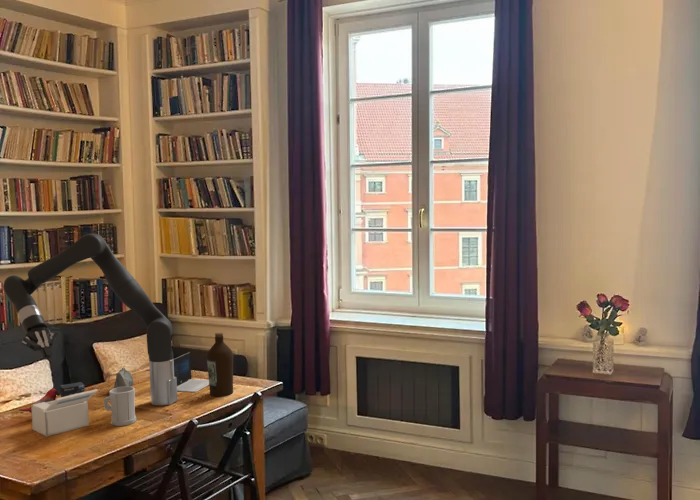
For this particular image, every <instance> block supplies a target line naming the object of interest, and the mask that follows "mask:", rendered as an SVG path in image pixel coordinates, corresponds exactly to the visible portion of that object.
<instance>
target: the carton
mask: <svg viewBox="0 0 700 500" xmlns="http://www.w3.org/2000/svg"><path fill="white" fill-rule="evenodd" d="M55 400H56V399H55ZM55 400H54V401H55ZM54 401H50V402H46V403H45V402H42V403H37V404H34V403H33V404H32V405H33V406H32V405H31V406H30V407H31V412H30V413H31V425H32V426H31V428H32V430H33V431H34V432H37V433H39V434H41V435H42V436H44V437H46V438H47V437H52V436H55V435H58V434H63V433H66V432H69V431H73V430H76V429H77V430H78V429H81V428H84V427H89V426H90V415H89V402H88V400H87V401H84V402H80V403H76V404H71V405H67V406H63V407H59V408H55V409H51V410H47V408H48V407H49V406H50V405H51V404H52V403H53V402H54Z"/></svg>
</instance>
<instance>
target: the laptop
mask: <svg viewBox="0 0 700 500" xmlns="http://www.w3.org/2000/svg"><path fill="white" fill-rule="evenodd" d="M191 358H192V357H191V352H190V351H189V352H187V353H184V354H182V355H180V356H178V357H176V358H173V361H174V377H176V378H177V393H178V392H180V393H197V392H198V391H201V390H202V389H204V388H206V387H208V386H209V379H198V378H197V379H196V378H195V379H194V378H192V361H191Z"/></svg>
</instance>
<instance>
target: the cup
mask: <svg viewBox="0 0 700 500" xmlns="http://www.w3.org/2000/svg"><path fill="white" fill-rule="evenodd" d="M108 393H109V395H108V396H106V397H104V398H103V404H104V405H103V407H104V409H105V410H106V411H109V412H111V419H110V425H113V426H117V427H124V426H129V425H133V424H135V422H136V421H137V415H136V409H135V405H136V404H135V401H136V398H135V397H136V388H135V387H134V386H131V387H128V386H127V387H118V388H114V387H113V388H112V389H110V390H109V392H108ZM109 401H110V404H109Z"/></svg>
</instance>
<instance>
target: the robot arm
mask: <svg viewBox="0 0 700 500" xmlns="http://www.w3.org/2000/svg"><path fill="white" fill-rule="evenodd" d="M87 259H91V260H92V261H93V262H94V263H95V264H96V265H97V267H98V268H100V270H101V271H102V274H103V275H104V278H105V280H106V281H107V284H108V286H109V287H110V289H111V290H112V292H113V293H114V294H115V295H116V297H117V298H118V299H119V300H120V301H121V302H122V303H123V305H125V306H126V307H127V308H128V309H129V310H130V311H132V312H133V313H135V314H136V315H137V316H138V317H139V318H140V319H141V321H142V322H143V324H145V326H146V328H147V329H146V347H147V355H148V364H149V366H148V367H149V381H150V383H149V385H150V386H149V387H150V400H151V401H150V402H151V405H153V406H167V405H172V404H174V403H176V402H177V401H178V392H177V378H176V377H174V361H173V359H174V352H173V351H174V350H173V346H172V334H173V331H174V327H173V324H172V322H171V321H170V320H169V319H168V318H167V316H165V315H164V314H163V313H162V311H160V309H158V308H157V307H156V305H155V304H154V303H153V302H152V300H151V299H150V297H149V296H148V295H147V292H146V291H145V290H144V289H143V288H142V287H141V284H139V282H138V281H137V280H136V278H134V276H133V275H132V274H131V273H130V272H129V271H128V270H127V268H126V267H125V266H124V265H123V264H122V263H121V262H120V260H119V259H118V258H117V257H116V255H115V254H114V253H113V251H112V250H111V248H110V246H109V245H108V243H107V242H106V240H105V238H104V237H103V236H101V235H100V234H98V233H86V234H84V235H82V236H81V237H80V238H78V240H76V241H75V242H74V243H73V244H72V245H70V246H69V247H68V248H66V249H65V250H63V251H61V252H60V253H58V254H56V255H54V256H52V257H51V258H48V259H47V260H45V261H42V262H41V263H39V264H37V265H35V266H34V267H32V268H30V269H29V270H28V271H27V276H28V278H26V279H23V278H22V277H20V276H18V275H9V276H8V277H7V278H5V280H4V282H3V291H4V293H5V294H6V296H7V297H8V299H9V300H10V302H11V303H12V304H13V306H14V308H15V310H16V313H17V315H18V318H19V322H20V324H21V326H22V328H23V331H24V333H25V337H23V338H22V341H21V344H22V345H23V346H25V347H27V348H29V349H31V350H32V351H34V352H37V351H38V352H39V351H40V354H41V357H42V358H44V359H45V360H48V359H50V358H51V356H52V350H51V349H52V348H53V347H54V344H55V341H56V339H57V337H58V336H59V333H58V332H51V330H50V329H49V327H48V326H47V323H46V321H45V318H44V316H43V314H42V312H41V309H39V307H38V305H37V302H36V301H35V299H34V297H33V296H32V294H34V292H36V290H38V289H39V287H40V286H42V285H43V284H45V283H47V282H48V281H50V280H52V279H53V278H55V277H57V276H58V275H60V274H62V273H63V272H64V271H65V270H67V269H68V268H70V267H73V265H75V264H77V263H79V262H82V261H84V260H87ZM49 338H50V342H49Z"/></svg>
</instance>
